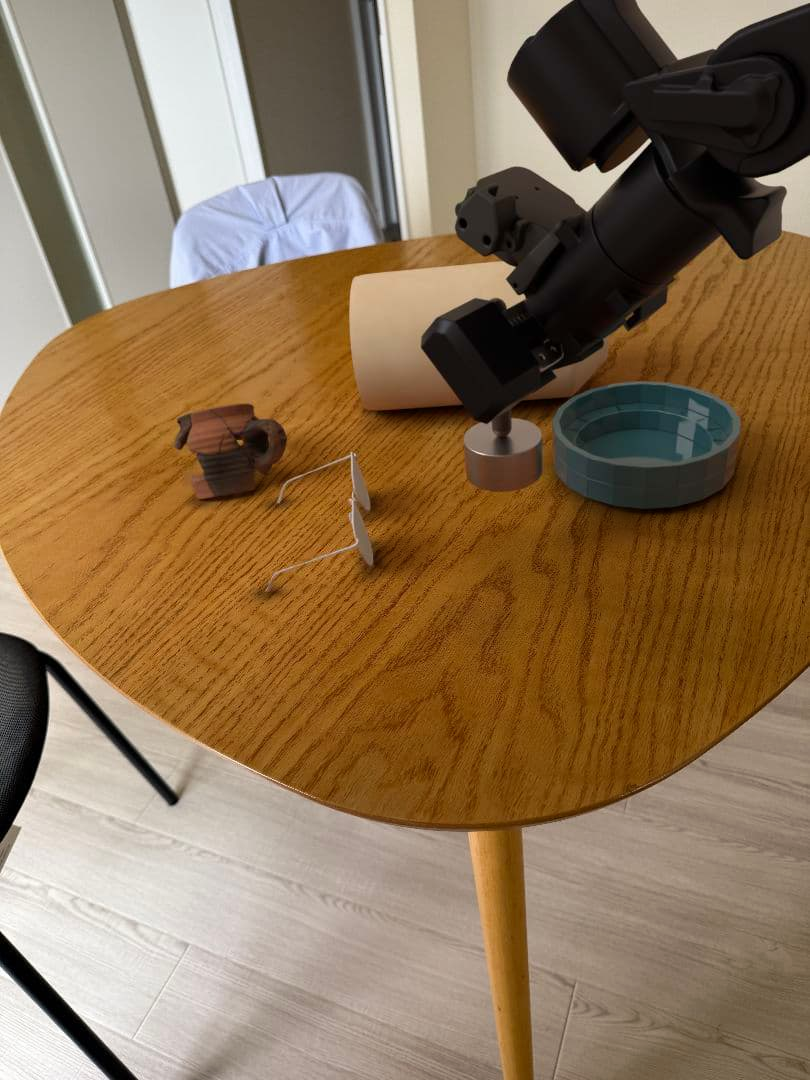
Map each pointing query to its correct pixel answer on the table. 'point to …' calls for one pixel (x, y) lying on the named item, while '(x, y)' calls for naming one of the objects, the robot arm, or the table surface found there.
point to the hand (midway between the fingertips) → (484, 385)
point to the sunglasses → (354, 516)
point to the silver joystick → (503, 452)
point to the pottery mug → (230, 447)
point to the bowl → (645, 444)
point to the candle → (403, 317)
